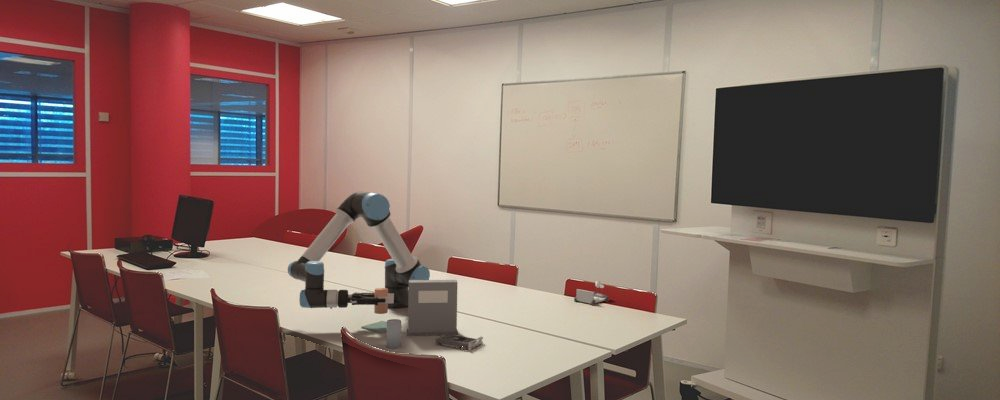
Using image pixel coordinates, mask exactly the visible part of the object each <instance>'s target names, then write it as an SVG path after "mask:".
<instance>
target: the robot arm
mask: <svg viewBox="0 0 1000 400" xmlns="http://www.w3.org/2000/svg"><path fill="white" fill-rule="evenodd" d="M390 207H391V205H390V201H389V200H388V198H387V197H386V196H385V195H383V194H381V193H378V192H374V191H373V192H367V191H356V192H354V193H352V194H350V195H349V196H347V197H346V199H344V200H343V201H342V203H341V204H339V206H338V207H337V208H336V210H335V214H334V215H333V217H332V218H331V219H330V221H329V222H328V223H327V224H326V225H325V227H324V228H323V229H322V231H320V233H319V234H318V235H317V236H316V237H315V239H314V240H313V241H312V243H310V245H309V246H308V247H307V249H305V251H304V252H303V254H301V256H300V257H299V259H298V260H294V261H291V262H290V263H289V265H288V267H287V273H288V275H289V276H290V277H291V278H293V279H295V280H298V281H302V282H303V283H304V285H305V286H304V289H301V290H300V292H299V299H298V300H299V306H300V307H301V308H306V309H318V308H319V309H320V308H322V309H323V308H324V309H325V308H327V309H328V308H330V310H332V309H333V308H335V309H336V308H338V309H339V308H341V309H342V308H343V309H344V308H346V309H347V307H348V306H349V304H351V306H362V305H365V306H369V305H371V306H374V305H376V306H377V305H378V303H388V308H391V309H392V308H394V309H397V308H399V309H400V308H406V307H408V301H409V280H430V278H431V277H430V276H431V271H430V269H429V268H428V266H426V265H423V264H422V263H421V261H420V260H419V259H418V257H417V256H414V255H413V254H412V253H411V251H410V250H409V248H408V246H407V245H406V243H405V241H404V240H403V238H402V237H401V234H400V233H399V231H398V230H397V228H396V226H395V225H394V222H393V221H392V219H391V218H390V217H391V215H392V214H391V211H390V210H391V209H390ZM359 218H363V221H365V223H366V225H367V226H368V227H369V228H372V229H373V230H374V231H375V233H376V235H377V236H378V238H379V239H380V241H381V243H382V244H383V246H384V248H385V249H386V251H387V253H388V254H389V256H390V257H391V258H389V259H386V260H385V262H384V288H387V289H388V297H378V298H377V297H375V292H353V293H351V294H349V291H348V289H339V290H338V289H325V284H324V283H325V264H324V262H323V261H321V260H322V259H323V257H324V256H325V254H326V253H327V252H329V250H330V249H331V247H333V245H334V244H335V242H337V240H338V239H339V238H340V236H341V235H342V234H343V232H344V231H345V230H346V229H347V228H348V226H349V225H350V224H353V223H355V222H356V220H357V219H359Z"/></svg>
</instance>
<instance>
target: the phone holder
mask: <svg viewBox="0 0 1000 400" xmlns="http://www.w3.org/2000/svg"><path fill="white" fill-rule="evenodd" d="M595 287H596V292H595V291H590V290H585V289H578V288H576V296H574V299H573V301H574V302H575V303H577V302H582V303H587V304H589V305H590V306H591V307H592V306H596V304H597V303H600V302H601V303H602V302H606V303H607V302H609V301H610V297H609V296H608V295H606V294H603V293H598V289H599V288H600V289H601V291H604V290H603V289H604V288H605V285H603V283H602V282H601V281H597V280H596V281H595Z"/></svg>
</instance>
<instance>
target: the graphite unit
mask: <svg viewBox="0 0 1000 400" xmlns="http://www.w3.org/2000/svg"><path fill="white" fill-rule="evenodd" d="M408 289H409V301H408V306H407V307H408V310H407V311H408V314H407V316H408V317H407V319H408V321H407V322H408V323H407V328H406V336H407V337H413V336H414V337H415V336H416V337H417V336H420V337H421V336H444V335H445V334H450V335H456V336H459V331H458V328H457V327H458V324H457V323H458V319H457V318H458V315H457V314H458V281H457V279H429V280H409V287H408Z"/></svg>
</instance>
